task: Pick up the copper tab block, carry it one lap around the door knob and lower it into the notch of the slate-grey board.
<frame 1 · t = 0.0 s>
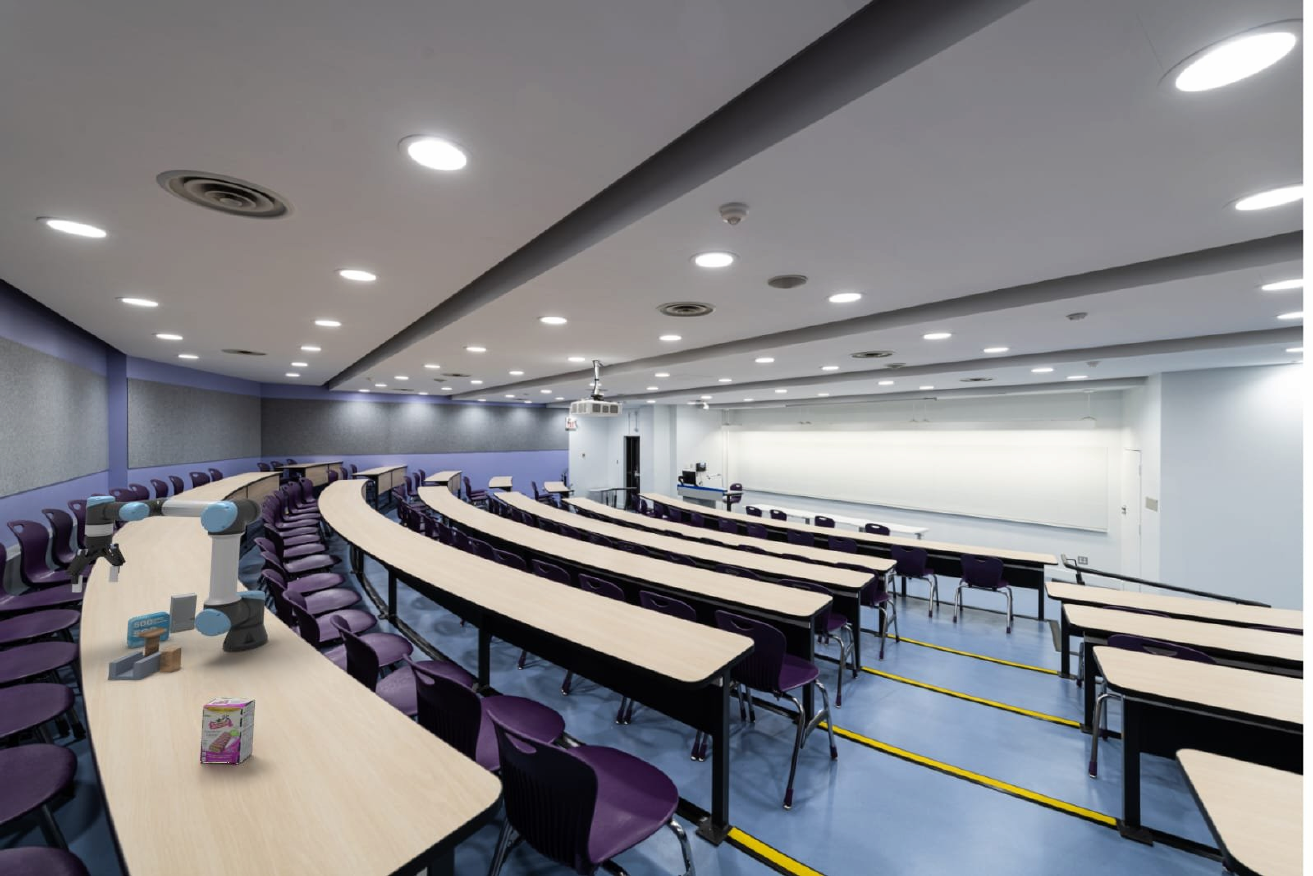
hand: (95, 587, 195), 28 cm above the table, fingers open, 13 cm apart
data package: (148, 643, 208), on the table
tab: (170, 670, 187), on the table
candy bar box: (226, 760, 138), on the table
skincare box: (181, 629, 224), on the table
door knob: (151, 659, 195), on the table
notch board: (137, 673, 183), on the table
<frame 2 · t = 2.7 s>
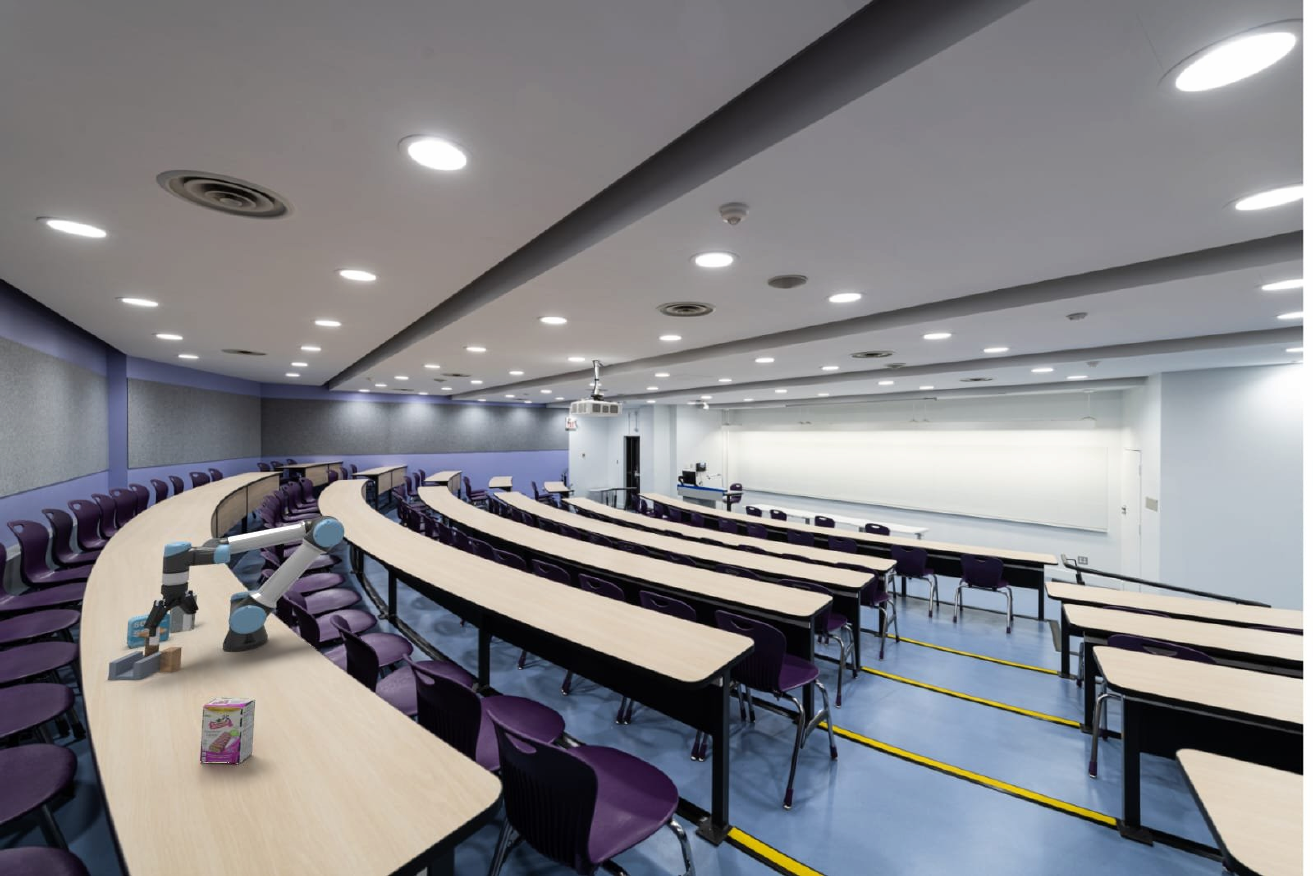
hand: (170, 637, 187), 12 cm above the table, fingers open, 13 cm apart
nothing on the table moved.
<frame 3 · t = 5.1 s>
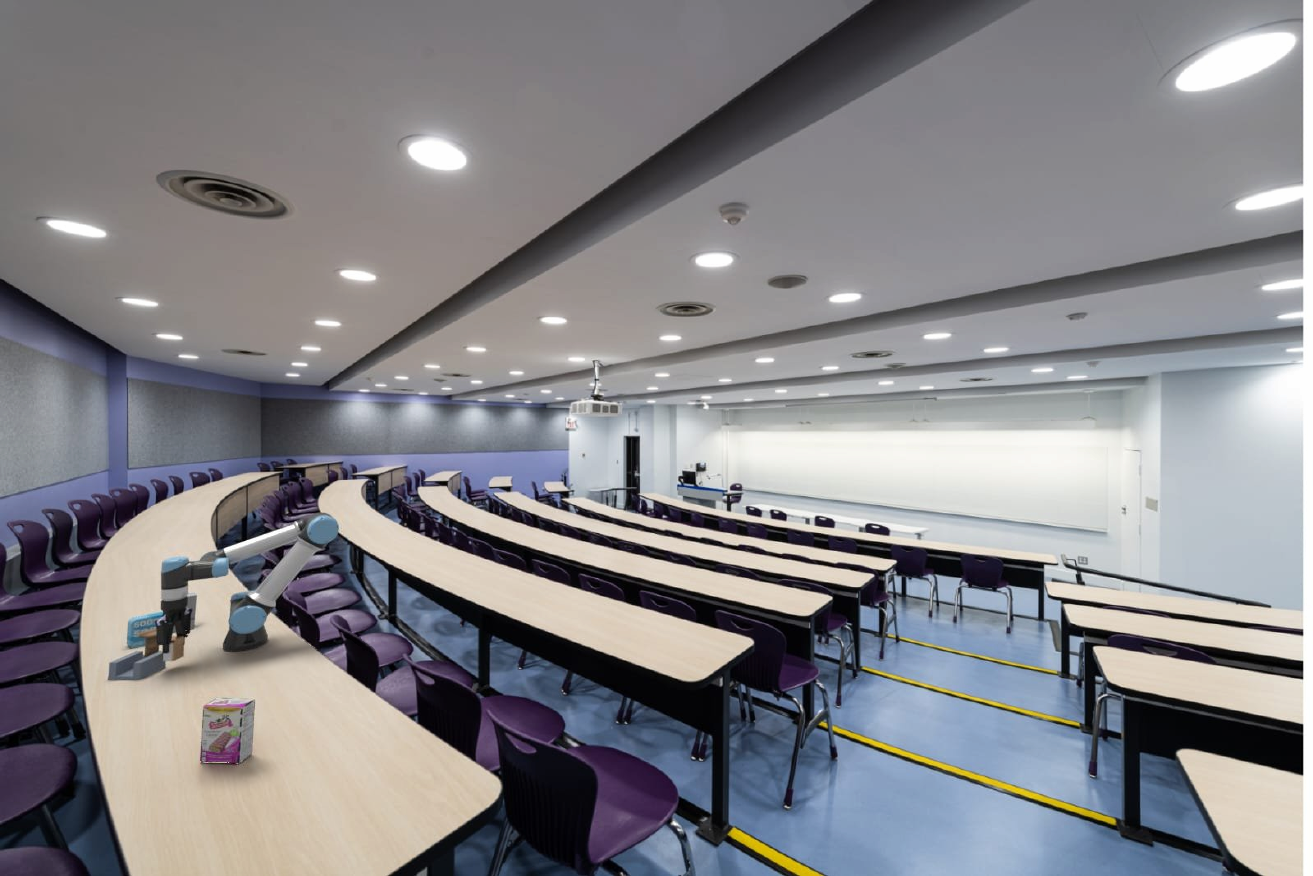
hand: (173, 657, 187), 5 cm above the table, fingers closed on tab, 4 cm apart
tab: (173, 658, 187), point 4 cm above the table, touching gripper
everything else where it was.
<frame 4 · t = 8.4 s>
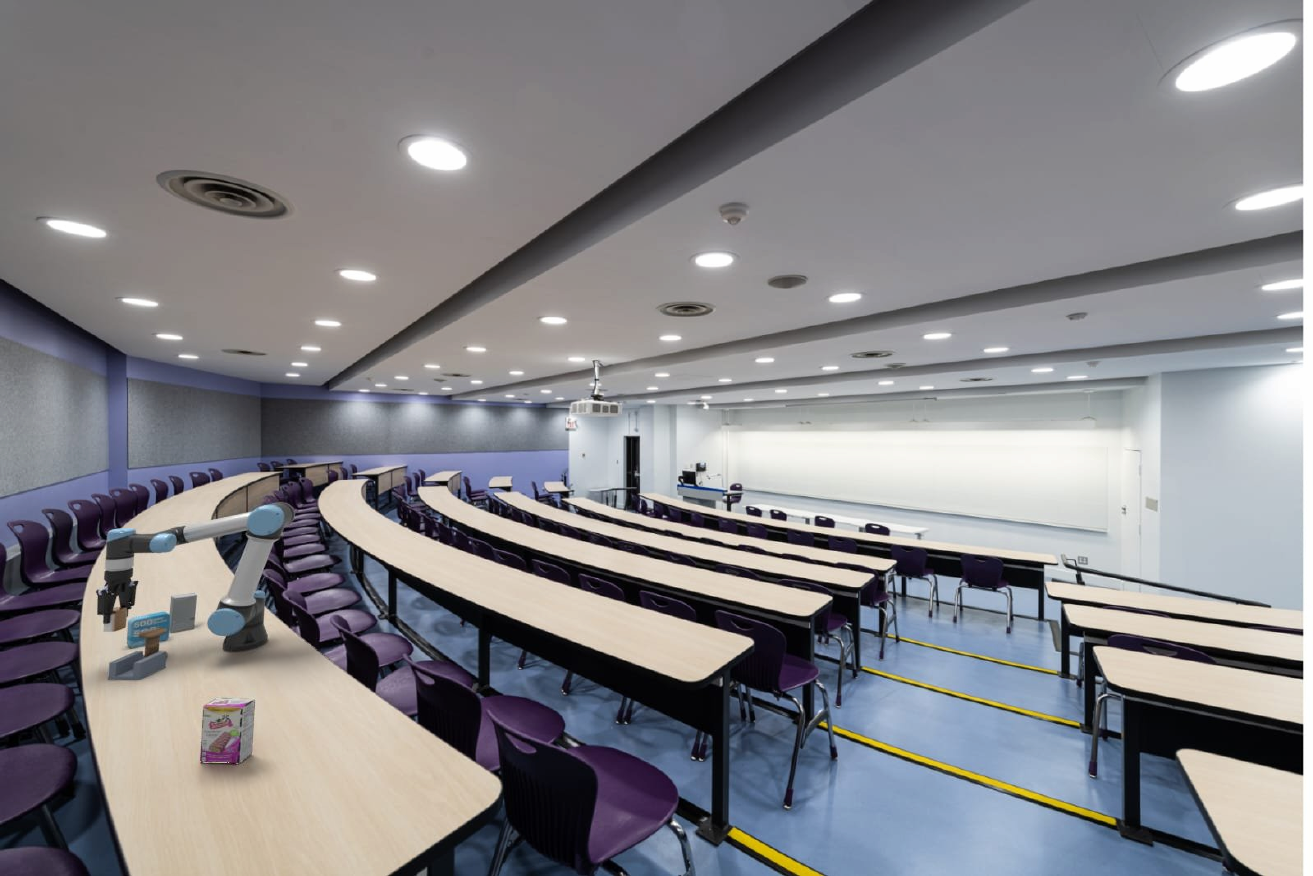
hand: (115, 628, 187), 15 cm above the table, fingers closed on tab, 4 cm apart
tab: (114, 629, 187), point 15 cm above the table, touching gripper
everything else where it was.
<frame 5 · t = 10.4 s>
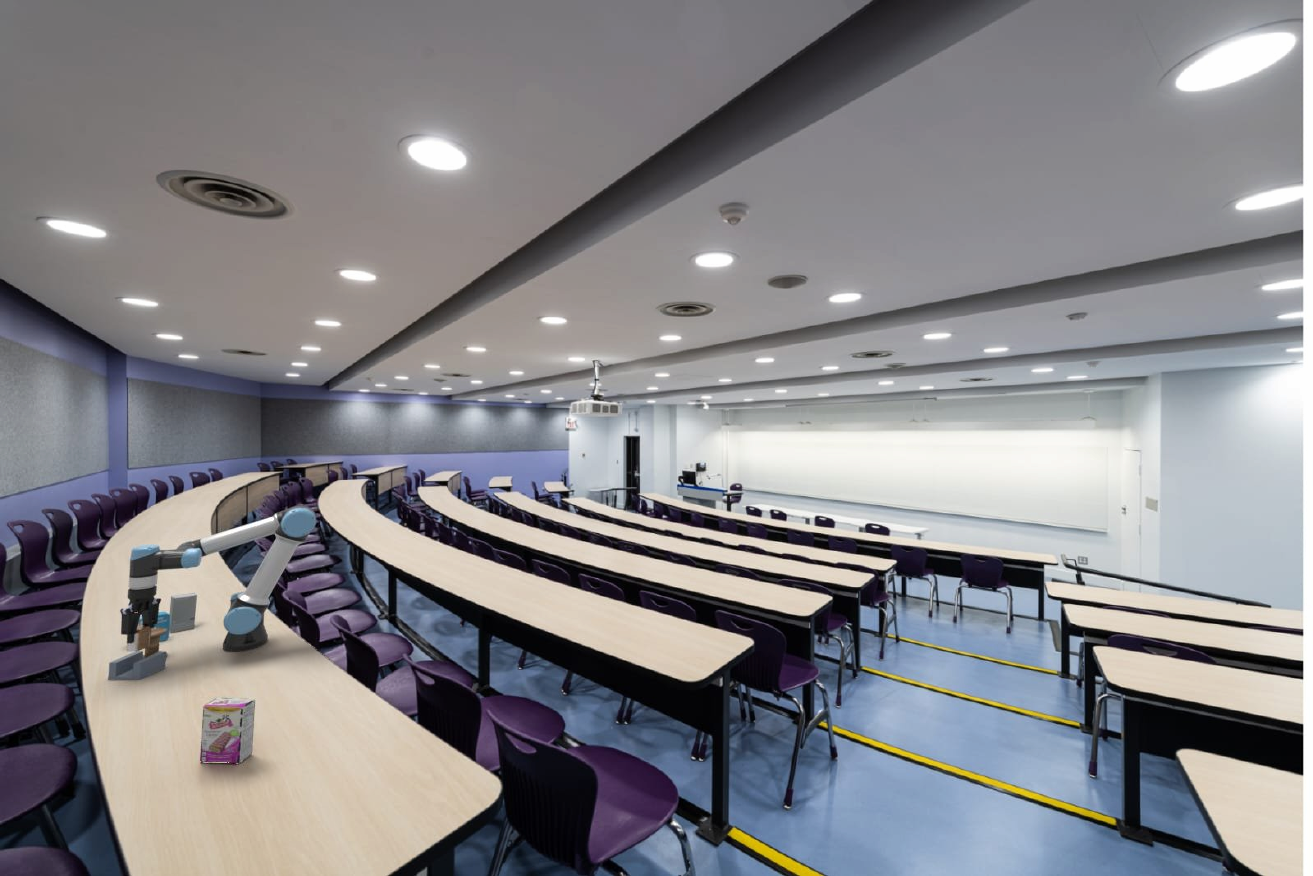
hand: (138, 648, 183), 10 cm above the table, fingers closed on tab, 4 cm apart
tab: (137, 648, 183), point 9 cm above the table, touching gripper
everything else where it was.
when the fingers open (3 cm above the table, at t = 11.8 s): tab drops 1 cm, resting on notch board.
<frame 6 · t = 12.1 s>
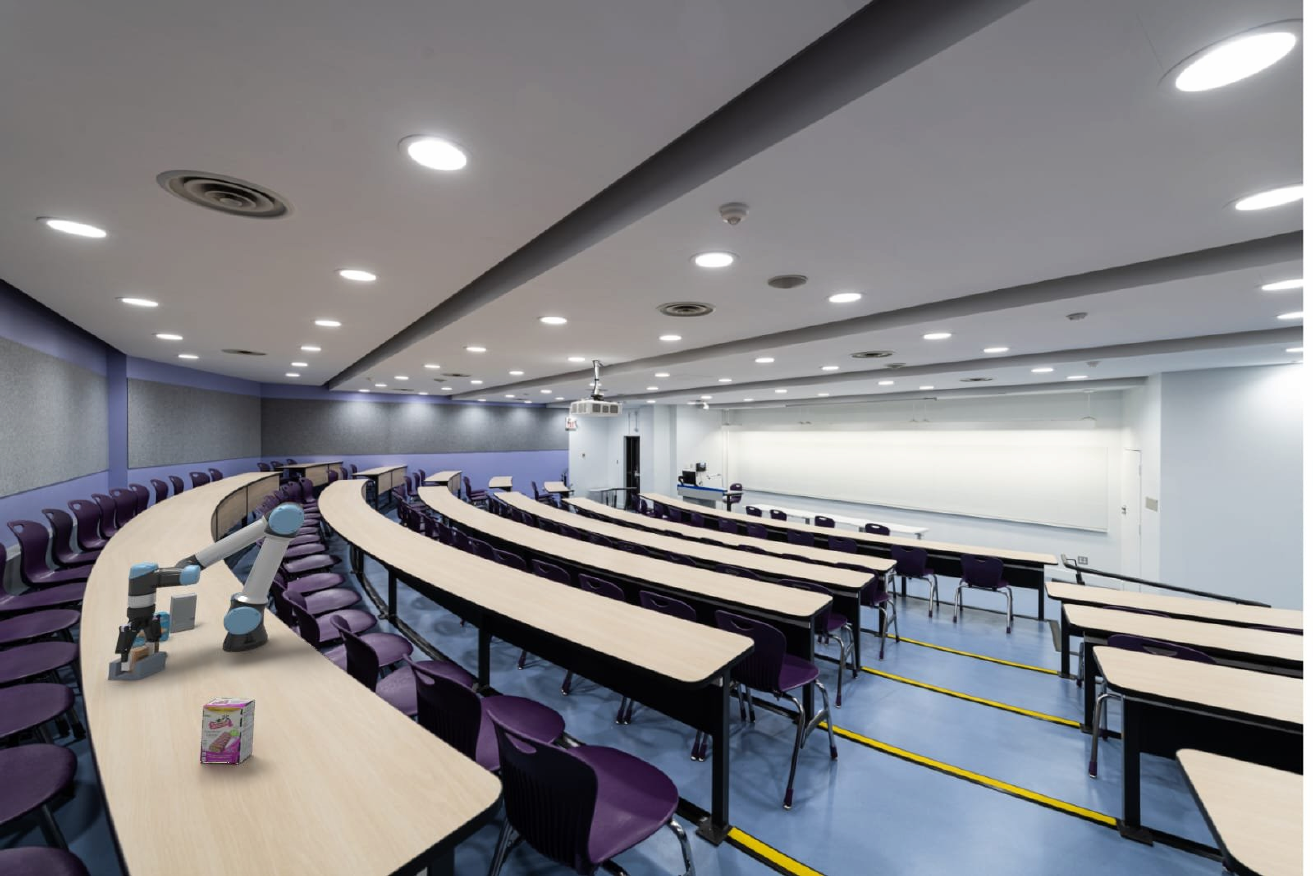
hand: (138, 664, 183), 3 cm above the table, fingers open, 8 cm apart
tab: (137, 670, 183), point 1 cm above the table, touching notch board
everything else where it was.
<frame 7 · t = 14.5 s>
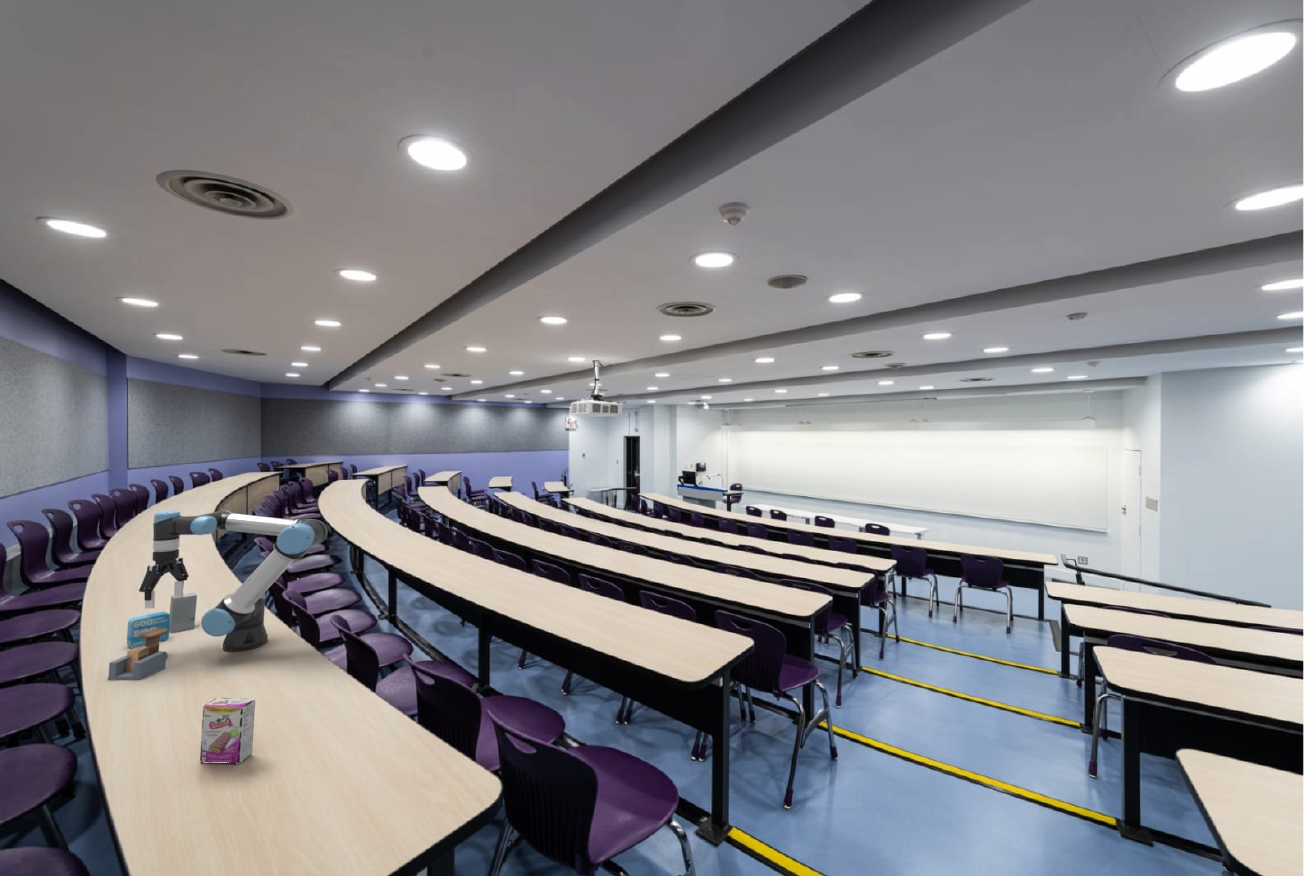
hand: (164, 602, 194), 23 cm above the table, fingers open, 13 cm apart
nothing on the table moved.
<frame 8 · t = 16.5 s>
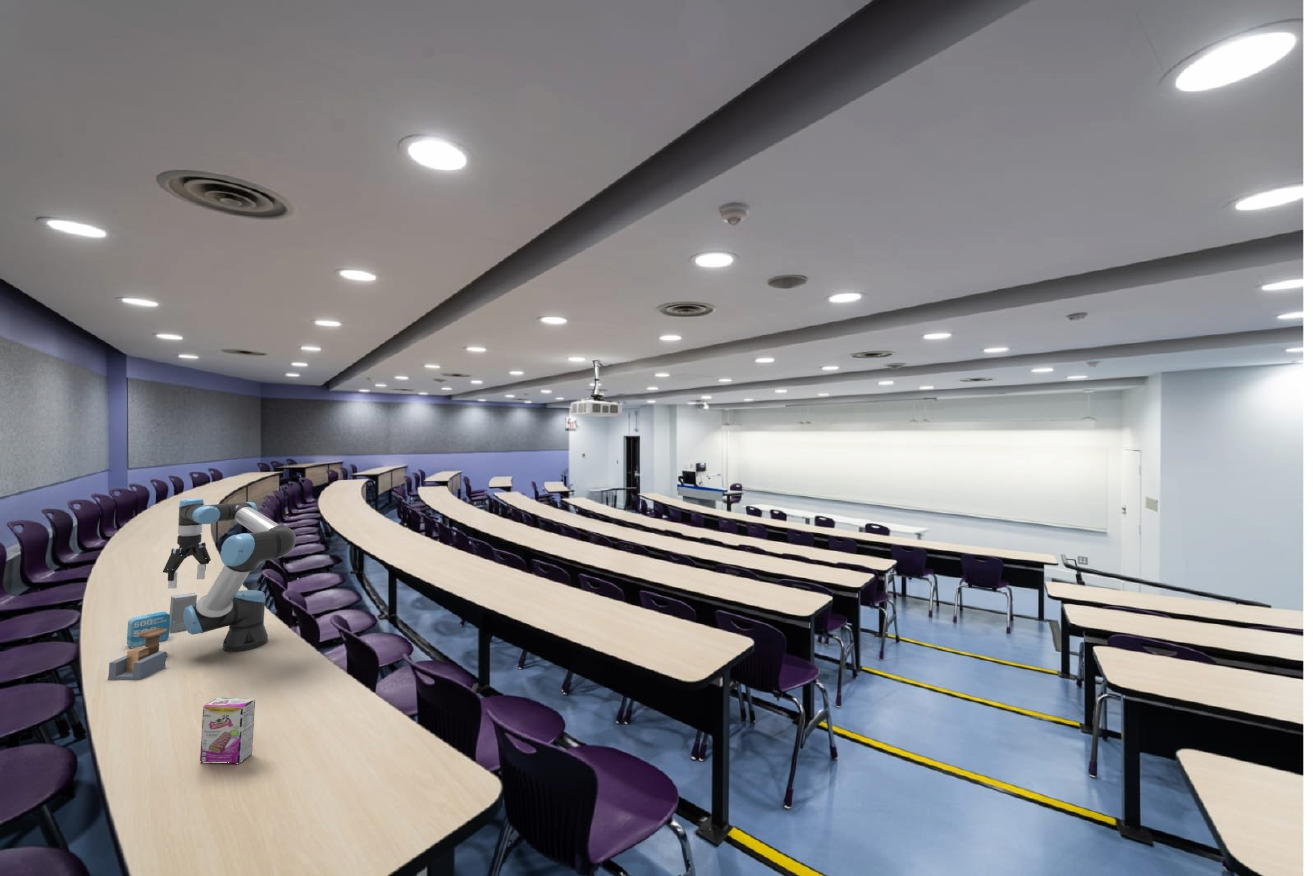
hand: (186, 583, 208), 27 cm above the table, fingers open, 13 cm apart
nothing on the table moved.
at the end: tab inside the target area on the notch board (0.2 cm from its centre), point 1.2 cm above the notch board's base; tab tilted 0°; the gripper is holding nothing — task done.
